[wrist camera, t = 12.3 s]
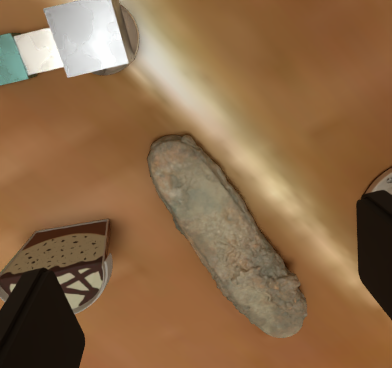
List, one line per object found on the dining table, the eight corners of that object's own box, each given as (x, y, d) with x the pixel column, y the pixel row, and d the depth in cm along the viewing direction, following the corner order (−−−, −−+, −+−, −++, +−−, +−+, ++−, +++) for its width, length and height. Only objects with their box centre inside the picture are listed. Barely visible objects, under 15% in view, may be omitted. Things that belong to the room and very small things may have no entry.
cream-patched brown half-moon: (39, 272, 46) (7, 331, 37) (23, 233, 43) (-16, 285, 34) (131, 256, 46) (122, 311, 37) (120, 216, 43) (107, 264, 34)
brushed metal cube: (119, 0, 32) (108, -7, 26) (134, 59, 34) (128, 63, 28) (64, 13, 32) (43, 8, 26) (83, 71, 34) (67, 77, 28)
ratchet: (127, -10, 34) (118, -21, 27) (147, 64, 36) (142, 70, 30) (-35, 30, 34) (-81, 28, 28) (-3, 100, 37) (-39, 113, 30)
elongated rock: (196, 110, 40) (128, 153, 42) (197, 119, 36) (120, 167, 38) (319, 308, 52) (261, 335, 54) (332, 336, 47) (268, 364, 49)
